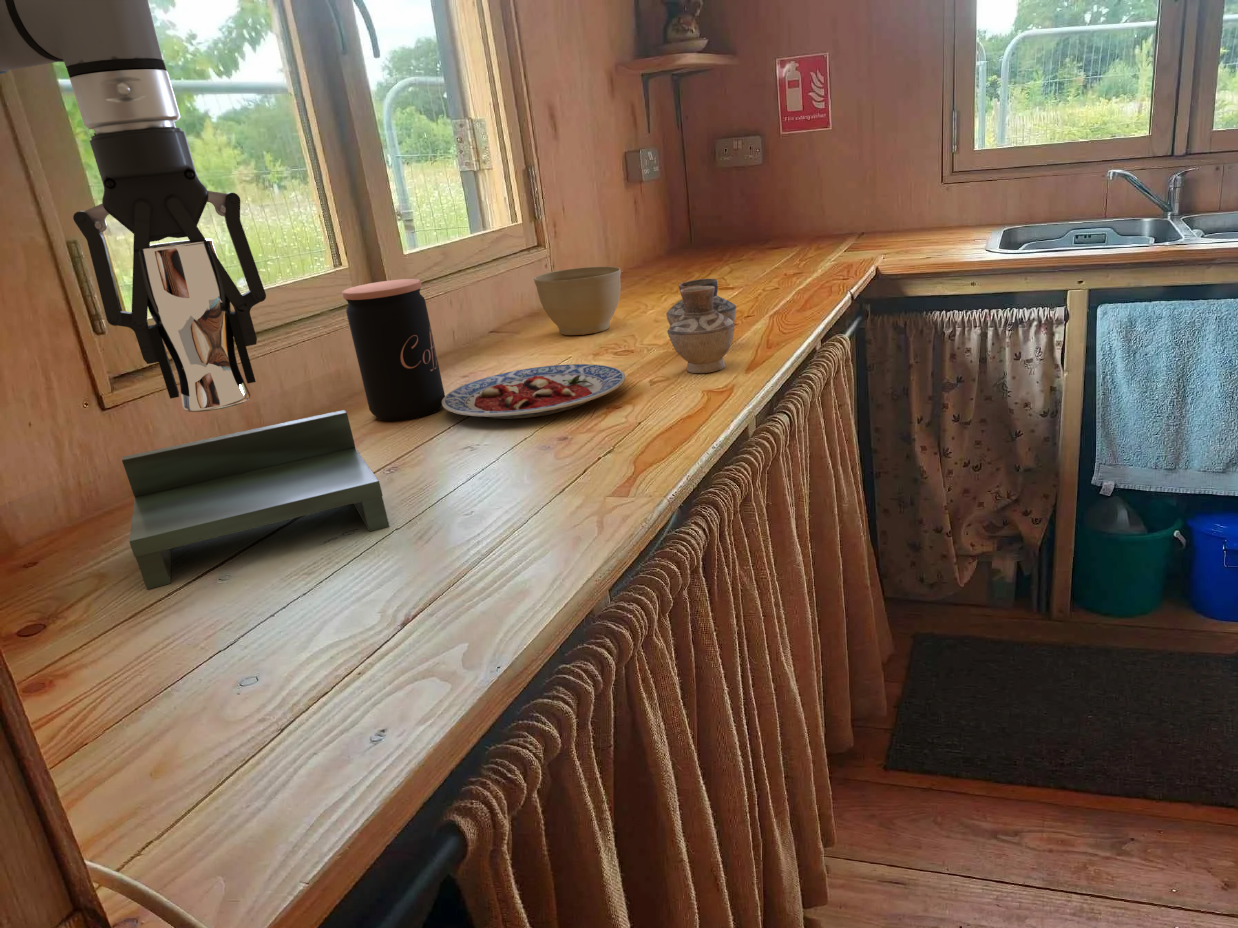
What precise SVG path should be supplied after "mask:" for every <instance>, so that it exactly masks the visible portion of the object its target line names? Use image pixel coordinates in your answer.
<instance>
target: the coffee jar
mask: <svg viewBox="0 0 1238 928" xmlns="http://www.w3.org/2000/svg"><path fill="white" fill-rule="evenodd" d="M422 287H423V285H422V280H421V279H418V278H401V279H390V280H384V281H383V280H382V281H377V282H376V281H375V282H371V283H365V284H359V285H356V286H352V287H348V288H346V289H344V290H342V291H341V295H342V298H343V299H344V300H345V301H346V302H347V307H346V309H345V312H346V317H347V321H348V326H349V329H350V335H351V337H352V342H353V347H354V351H355V355H356V358H357V359H356V360H357V363H358V368H359V371H360V376H361V380H362V385H363V388H364V392H365V396H366V397H365V398H366V401H367V405H368V409H369V412H371V414H372V415H373V416H374V417H375V418H376V419H377V420H378V421H382V422H402V421H409V420H410V421H411V420H414V419H419V418H422V417H426V416H430V415H432V414H434V413H436V412H437V413H438V412H439V411H440V410H441V409H443V406H442V400H443V398H444V397H445V396H446V395H445V390H444V385H443V380H442V379H443V378H442V374H441V371H440V365H439V361H438V356H437V350H436V346H435V341H434V336H433V331H432V326H431V321H430V315H429V313H428V312H429V311H428V308H427V303H426V299H425V297H424V296H423V295H422V294H421V292H420V291H421V288H422Z"/></svg>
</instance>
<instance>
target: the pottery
mask: <svg viewBox="0 0 1238 928" xmlns="http://www.w3.org/2000/svg"><path fill="white" fill-rule="evenodd" d="M718 286H719V285H718V280H717V279H716V278H698V279H692V280H687V281H683V282H680V283H679V284H678V290H679V293H680V296H681V299H680V300H678V301H677V302H676V303H674V304H673V305H672V307H670V308H669V309H668V310H667V312H666V319H667V321H668V322H667V323H668V324H669V328H667V331H666V332H667V335H668V338H669V340H670V343H671V345H672V347H673V348H674V350H675V351H676V353H677V354H678V355H679V356H680V357H681V358H682V359H683V360H684V361H686V362H687V363H686V366H687V367H686V372H688V373H692V374H708V373H713V372H717V371H721V370H723V369H725V367H726V363H725V361H724V357H726V355H727V354H728V352H729V351H730V348H731V345H732V343H733V339H734V334H735V327H736V326H735V325H736V323H735V320H736V317H737V316H736V315H737V305H736V304H735V303H733V302H732V301H730V300H728V299H725V298H724V297H722V296H719V295H718V291H719V289H718V288H719V287H718Z"/></svg>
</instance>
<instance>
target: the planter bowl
mask: <svg viewBox="0 0 1238 928" xmlns="http://www.w3.org/2000/svg"><path fill="white" fill-rule="evenodd" d="M621 274H622V270H621V268H620V267H618V266H608V265H607V266H586V267H574V268H567V269H561V270H556V271H550V272H545V273H542V274H539V275H536V276H535V277H534V278H533V281H534V285H535V286H536V291H537V295H538V298H539V299H538V300H539V302H540V303H541V306H542V308H543V310H544V311H545V313H546V315H547V316H548V318H549V319H550V320H551V321H552V322H553V324H555V326H556V327H557V328H558V331H559V333H560V334H561V335H564V336H584V335H589V334H596V333H600V332H603V331H606V330H609V328H610V327H611V320H612V318H613V316H614V315H615V312H616V310H617V308H618V305H619V302H620V297H621V284H622V283H621Z"/></svg>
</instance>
